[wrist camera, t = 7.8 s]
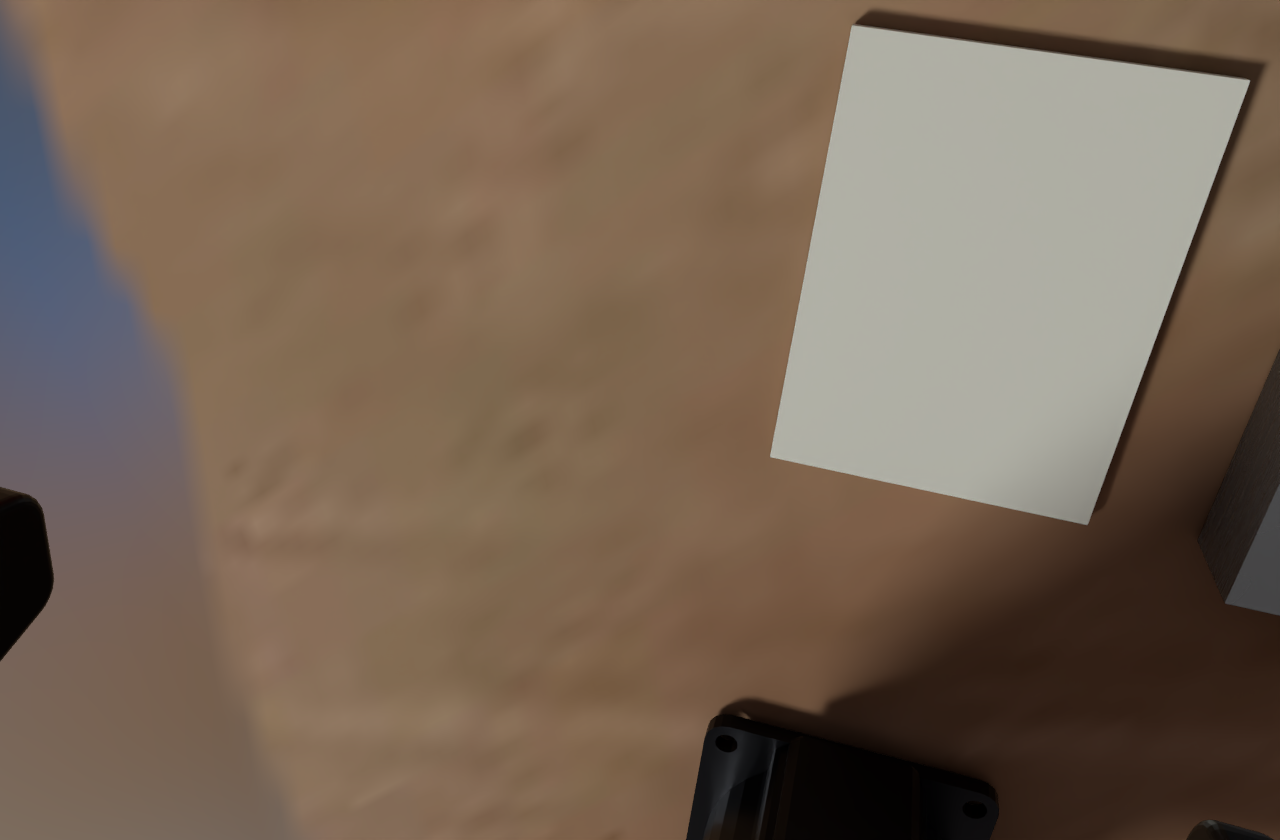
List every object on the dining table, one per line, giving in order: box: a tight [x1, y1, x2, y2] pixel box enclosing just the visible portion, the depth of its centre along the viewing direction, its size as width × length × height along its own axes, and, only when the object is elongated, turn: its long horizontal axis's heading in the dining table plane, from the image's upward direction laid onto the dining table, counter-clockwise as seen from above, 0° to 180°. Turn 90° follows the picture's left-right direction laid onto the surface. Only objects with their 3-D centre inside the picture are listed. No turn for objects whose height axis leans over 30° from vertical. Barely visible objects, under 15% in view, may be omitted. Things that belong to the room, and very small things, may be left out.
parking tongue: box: [770, 24, 1250, 525], centre depth 18 cm, size 8×6×1 cm
